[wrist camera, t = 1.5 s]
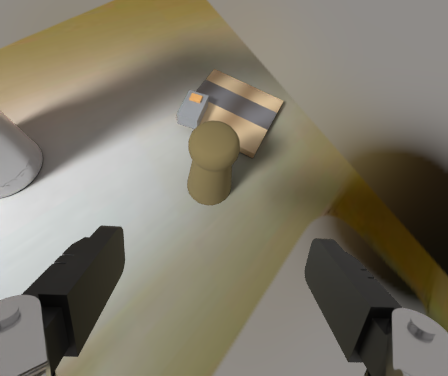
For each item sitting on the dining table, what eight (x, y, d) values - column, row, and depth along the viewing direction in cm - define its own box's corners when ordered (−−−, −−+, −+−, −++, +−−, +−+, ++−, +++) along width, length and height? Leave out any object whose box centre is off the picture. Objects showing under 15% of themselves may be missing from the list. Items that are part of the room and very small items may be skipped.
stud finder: (177, 123, 34) (176, 112, 32) (189, 99, 36) (189, 87, 34) (197, 129, 34) (197, 119, 31) (208, 105, 36) (208, 94, 34)
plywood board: (177, 120, 35) (176, 115, 34) (213, 74, 40) (214, 68, 39) (252, 158, 34) (254, 153, 33) (281, 106, 39) (283, 100, 38)
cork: (184, 167, 32) (179, 112, 22) (226, 163, 33) (239, 108, 23) (190, 208, 30) (187, 167, 20) (235, 201, 31) (254, 159, 21)
